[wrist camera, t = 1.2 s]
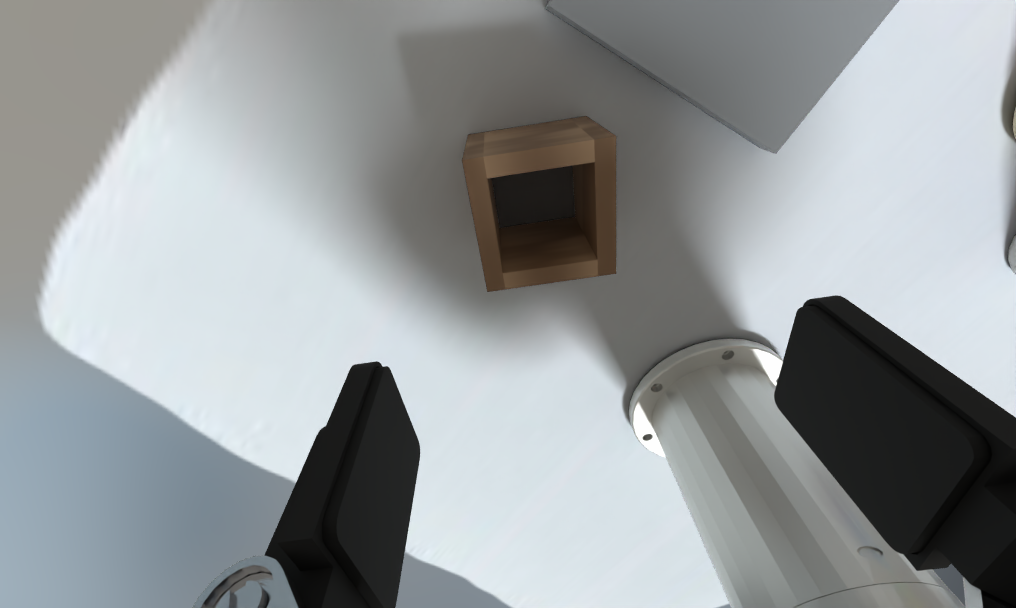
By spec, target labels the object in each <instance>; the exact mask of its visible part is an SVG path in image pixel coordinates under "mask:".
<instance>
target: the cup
mask: <svg viewBox="0 0 1016 608" xmlns="http://www.w3.org/2000/svg"><path fill="white" fill-rule="evenodd" d="M1008 261H1009V264H1010V266H1011V268H1012V271H1013V272H1014V273H1015V274H1016V234H1015V236H1014V237H1013V240H1012V242H1011V245H1010V247H1009V251H1008Z"/></svg>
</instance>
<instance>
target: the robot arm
mask: <svg viewBox="0 0 1016 608" xmlns="http://www.w3.org/2000/svg"><path fill="white" fill-rule="evenodd" d="M629 417H630V423H631V425H632V428H633V431H634V433H635V435H636V437H637V439H638V440H639V442H640V443H641V444H642V445H643V446H645V447H646V448H647V449H648V450H650V451H652V452H653V453H655V454H657V455H660V456H663V457H666V459H667V461H668V463H669V466H670V468H671V470H672V473H673V475H674V477H675V479H676V482H677V484H678V486H679V489H680V491H681V493H682V495H683V498H684V500H685V502H686V505H687V507H688V509H689V512H690V514H691V516H692V518H693V521H694V523H695V525H696V528H697V530H698V532H699V534H700V537H701V539H702V541H703V544H704V546H705V548H706V551H707V553H708V555H709V557H710V560H711V562H712V564H713V567H714V569H715V571H716V573H717V576H718V578H719V580H720V583H721V585H722V587H723V590H724V592H725V594H726V596H727V599H728V601H729V603H730V606H731V608H1016V418H1015V417H1014V416H1013V415H1011V414H1010V413H1008V412H1007V411H1005V410H1004V409H1003V408H1001V407H1000V406H998V405H997V404H995V403H994V402H993V401H991V400H990V399H988V398H987V397H985V396H984V395H983V394H981V393H980V392H978V391H977V390H975V389H974V388H973V387H971V386H970V385H968V384H967V383H965V382H964V381H963V380H961V379H960V378H958V377H957V376H955V375H954V374H953V373H951V372H950V371H948V370H947V369H945V368H944V367H943V366H941V365H940V364H938V363H937V362H935V361H934V360H932V359H931V358H930V357H928V356H927V355H925V354H924V353H922V352H921V351H920V350H918V349H917V348H915V347H914V346H912V345H911V344H910V343H908V342H907V341H905V340H904V339H902V338H901V337H900V336H898V335H897V334H895V333H894V332H892V331H891V330H890V329H888V328H887V327H885V326H884V325H882V324H881V323H880V322H878V321H877V320H875V319H874V318H872V317H871V316H870V315H868V314H867V313H865V312H864V311H862V310H861V309H860V308H858V307H857V306H855V305H854V304H852V303H851V302H850V301H848V300H847V299H845V298H843V297H841V296H829V297H822V298H815V299H810V300H807V301H806V302H805V303H804V305H803V307H801V308H799V309H798V311H797V313H796V316H795V320H794V324H793V327H792V331H791V334H790V338H789V342H788V345H787V349H786V352H785V356H784V360H782V359H781V358H780V356H779V355H777V354H776V353H775V352H774V351H773V350H771V349H770V348H768V347H766V346H764V345H762V344H760V343H757V342H753V341H749V340H745V339H720V340H711V341H707V342H703V343H699V344H695V345H693V346H690V347H688V348H685V349H683V350H680V351H678V352H676V353H675V354H673V355H671V356H669V357H668V358H666V359H664V360H663V361H662V362H660V363H659V364H658V365H656V366H655V367H654V368H652V369H651V371H650V372H649V373H648V374H647V375H646V376H645V377H644V378H643V379H642V380H641V382H640V383H639V385H638V386H637V388H636V389H635V391H634V394H633V396H632V399H631V401H630V407H629ZM419 460H420V445H419V441H418V438H417V436H416V433H415V431H414V428H413V426H412V423H411V421H410V418H409V416H408V413H407V411H406V408H405V405H404V403H403V400H402V398H401V395H400V393H399V390H398V388H397V385H396V383H395V380H394V378H393V375H392V373H391V370H390V368H389V367H387V366H386V367H382V365H381V364H380V363H379V362H370V363H363V364H356V365H353V366H352V367H351V369H350V371H349V373H348V376H347V378H346V380H345V383H344V385H343V387H342V390H341V392H340V394H339V397H338V399H337V402H336V404H335V406H334V409H333V411H332V413H331V416H330V418H329V420H328V423H327V425H326V427H323V428H322V429H321V430H320V431H319V433H318V435H317V436H316V439H315V441H314V443H313V446H312V448H311V450H310V452H309V455H308V457H307V459H306V462H305V464H304V466H303V468H302V471H301V473H300V475H299V478H298V480H297V482H296V484H295V487H294V489H293V491H292V494H291V496H290V498H289V500H288V503H287V505H286V507H285V510H284V512H283V514H282V516H281V519H280V521H279V523H278V526H277V528H276V530H275V532H274V535H273V537H272V539H271V542H270V544H269V546H268V549H267V551H266V553H265V556H253V557H250V558H247V559H244V560H241V561H239V562H238V563H236V564H234V565H232V566H231V567H229V568H228V569H226V570H225V571H224V572H222V573H221V574H220V575H219V576H218V577H217V578H215V579H214V580H213V581H212V582H211V583H210V584H209V585H208V587H207V588H206V589H205V590H204V591H203V592H202V594H201V595H200V596H199V597H198V599H197V601H196V602H195V604H194V606H193V607H192V608H395V606H396V601H397V595H398V589H399V583H400V576H401V571H402V564H403V558H404V552H405V546H406V540H407V534H408V527H409V521H410V515H411V509H412V503H413V497H414V491H415V484H416V478H417V472H418V466H419ZM951 563H952V565H953V566H954V567H955V568H956V569H957V570H958V571H959V572H960V573H961V575H963V583H964V594H965V604H966V607H965V606H964V605H963V604H962V603H961V602H960V600H959V599H958V598H957V597H956V596H955V595H954V594H953V593H952V592H951V591H950V590H949V588H948V587H947V586H946V585H945V584H944V582H943V581H942V580H941V579H940V578H939V577H938V576H937V575H936V573H935V572H934V571H933V570H932V569H939V568H947V567H948V566H949V565H950V564H951Z"/></svg>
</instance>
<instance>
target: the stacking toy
mask: <svg viewBox="0 0 1016 608" xmlns="http://www.w3.org/2000/svg"><path fill="white" fill-rule="evenodd" d="M1013 132H1014V136H1015V139H1016V108H1015V112H1014V118H1013Z"/></svg>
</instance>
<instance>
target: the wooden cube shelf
mask: <svg viewBox="0 0 1016 608" xmlns="http://www.w3.org/2000/svg"><path fill="white" fill-rule="evenodd" d="M462 163H463V168H464V173H465V178H466V183H467V189H468V194H469V199H470V204H471V209H472V214H473V220H474V225H475V230H476V235H477V240H478V245H479V251H480V256H481V261H482V266H483V271H484V276H485V282H486V287H487V292H490V291H497V290H504V289H511V288H518V287H525V286H532V285H539V284H546V283H553V282H560V281H567V280H574V279H581V278H589V277H596V276H603V275H610V274H616V136H615V135H614V134H612V133H611V132H609V131H608V130H606V129H605V128H603V127H602V126H600V125H599V124H597V123H596V122H594V121H593V120H591V119H590V118H589V117H587V116H583V117H577V118H571V119H564V120H558V121H552V122H545V123H539V124H533V125H526V126H520V127H514V128H507V129H501V130H495V131H488V132H482V133H476V134H469V135H468V137H467V141H466V145H465V150H464V154H463V158H462ZM565 166H572V172H573V189H574V207H575V217H569V218H562V219H556V220H549V221H542V222H536V223H529V224H522V225H515V226H509V227H502V228H500V226H499V220H498V213H497V207H496V201H495V195H494V188H493V182H492V178H494V177H500V176H507V175H513V174H520V173H526V172H533V171H539V170H546V169H552V168H559V167H565Z"/></svg>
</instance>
